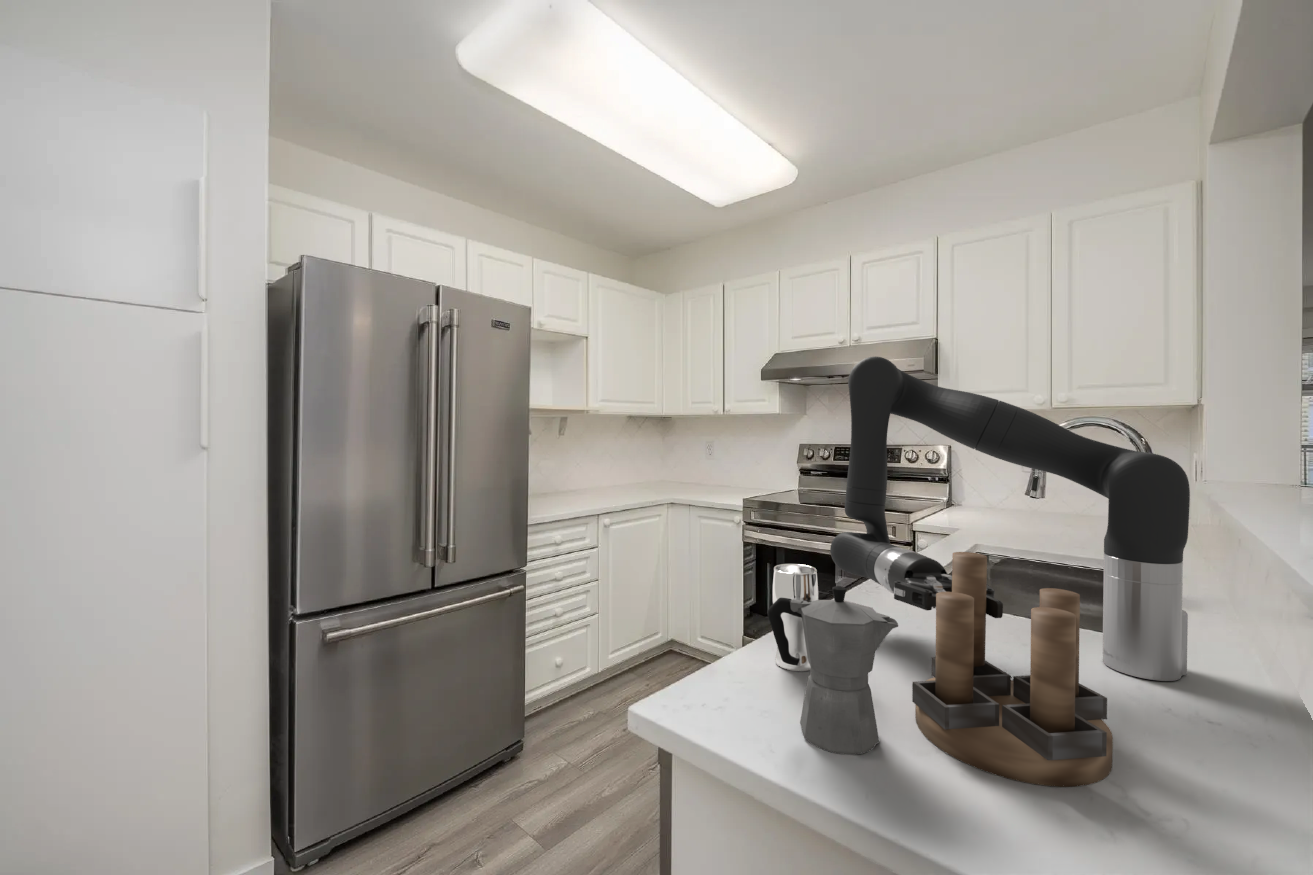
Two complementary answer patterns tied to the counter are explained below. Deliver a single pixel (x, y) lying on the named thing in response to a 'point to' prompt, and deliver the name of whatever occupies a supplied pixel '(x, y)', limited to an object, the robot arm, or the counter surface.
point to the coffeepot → (836, 669)
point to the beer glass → (799, 586)
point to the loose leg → (973, 594)
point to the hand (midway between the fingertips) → (983, 610)
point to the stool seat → (1016, 699)
